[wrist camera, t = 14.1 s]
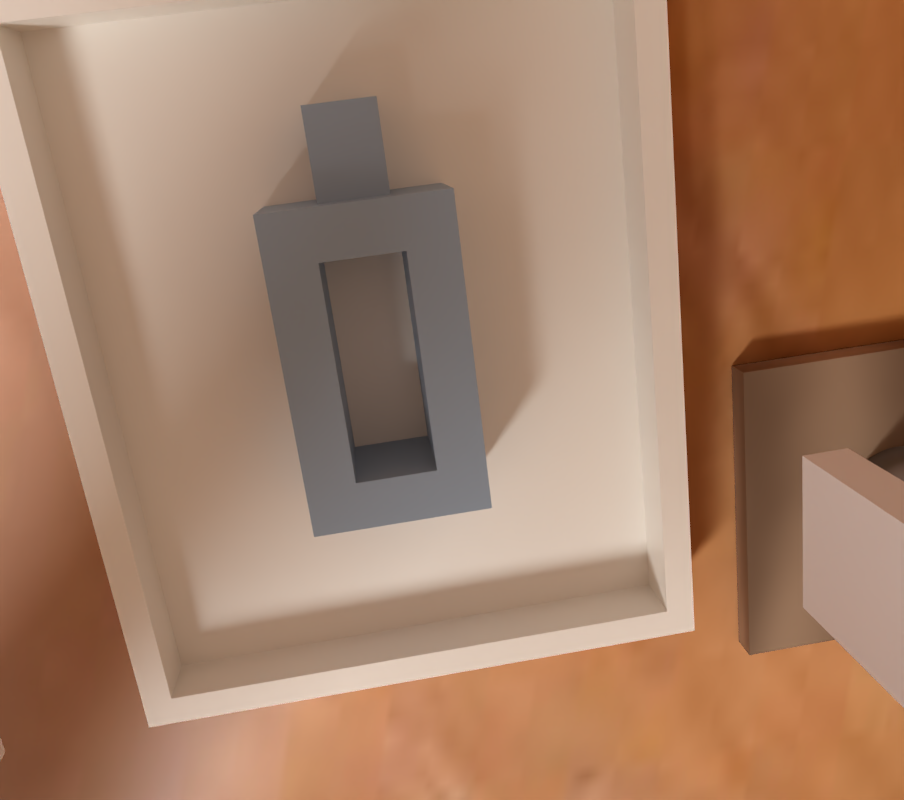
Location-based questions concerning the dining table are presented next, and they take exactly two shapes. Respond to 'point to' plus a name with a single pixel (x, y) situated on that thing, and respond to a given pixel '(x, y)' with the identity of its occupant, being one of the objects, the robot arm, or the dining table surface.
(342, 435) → the grey slotted block
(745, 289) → the dining table surface
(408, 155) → the tray
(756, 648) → the lever on base
